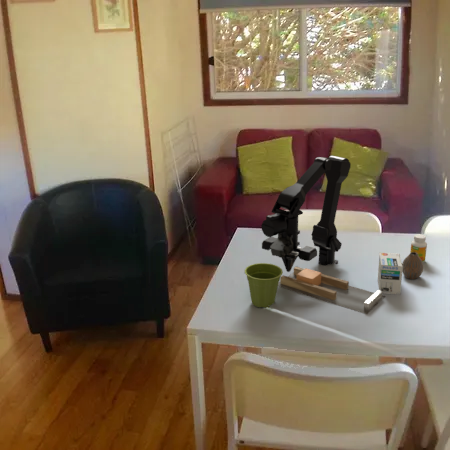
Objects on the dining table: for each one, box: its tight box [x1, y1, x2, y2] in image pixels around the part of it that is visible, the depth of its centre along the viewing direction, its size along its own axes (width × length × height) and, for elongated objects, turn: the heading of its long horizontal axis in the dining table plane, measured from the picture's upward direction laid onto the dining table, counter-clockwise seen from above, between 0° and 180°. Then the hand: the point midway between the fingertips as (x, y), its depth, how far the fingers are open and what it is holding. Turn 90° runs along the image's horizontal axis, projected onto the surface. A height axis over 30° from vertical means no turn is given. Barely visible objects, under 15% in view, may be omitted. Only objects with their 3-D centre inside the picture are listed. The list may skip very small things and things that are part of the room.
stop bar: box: [364, 289, 383, 311], centre depth 166 cm, size 10×2×2 cm, turn 142°
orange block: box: [296, 268, 322, 286], centre depth 179 cm, size 6×6×4 cm
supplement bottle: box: [409, 233, 428, 264], centre depth 196 cm, size 5×5×10 cm
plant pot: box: [244, 262, 283, 309], centre depth 169 cm, size 12×12×11 cm
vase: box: [401, 252, 424, 280], centre depth 184 cm, size 7×7×9 cm
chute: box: [278, 266, 386, 315], centre depth 175 cm, size 14×33×3 cm, turn 52°
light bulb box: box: [377, 252, 403, 295], centre depth 176 cm, size 11×7×11 cm, turn 168°
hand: (288, 271), depth 184 cm, fingers closed
